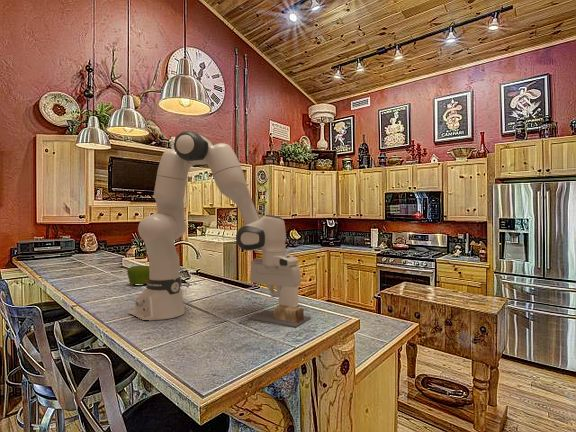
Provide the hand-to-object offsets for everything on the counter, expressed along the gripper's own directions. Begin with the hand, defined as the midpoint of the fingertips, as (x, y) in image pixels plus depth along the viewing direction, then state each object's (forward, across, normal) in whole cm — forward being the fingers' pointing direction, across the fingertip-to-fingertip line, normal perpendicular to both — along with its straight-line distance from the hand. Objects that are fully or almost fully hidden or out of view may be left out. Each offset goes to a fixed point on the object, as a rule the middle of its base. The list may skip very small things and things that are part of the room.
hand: (275, 296), depth 124 cm
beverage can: (+8, -4, +15) cm, 18 cm away
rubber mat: (+8, +2, 0) cm, 8 cm away
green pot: (+8, -99, +15) cm, 101 cm away
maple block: (+5, +1, 0) cm, 5 cm away
